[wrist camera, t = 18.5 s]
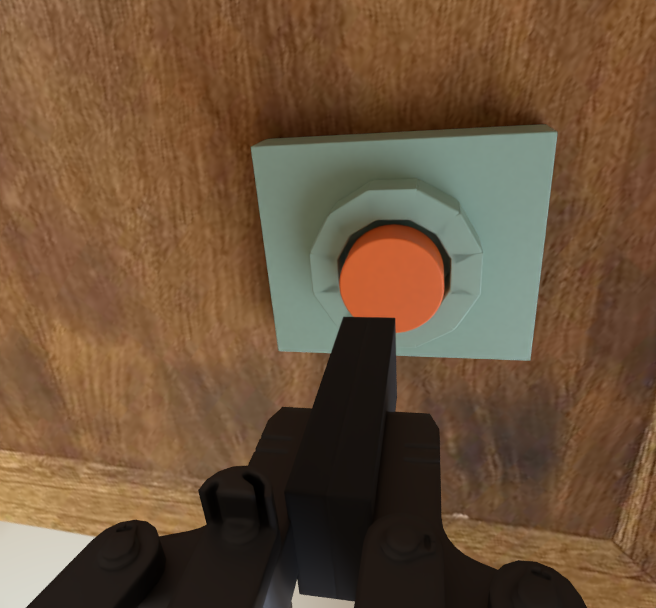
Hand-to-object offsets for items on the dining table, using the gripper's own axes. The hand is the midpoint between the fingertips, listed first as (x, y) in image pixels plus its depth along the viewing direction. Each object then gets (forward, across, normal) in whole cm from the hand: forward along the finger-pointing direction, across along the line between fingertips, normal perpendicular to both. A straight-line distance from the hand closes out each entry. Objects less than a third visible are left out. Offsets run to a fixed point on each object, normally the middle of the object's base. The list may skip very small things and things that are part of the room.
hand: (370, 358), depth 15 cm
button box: (+10, 0, 0) cm, 10 cm away
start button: (+7, 0, 0) cm, 7 cm away
